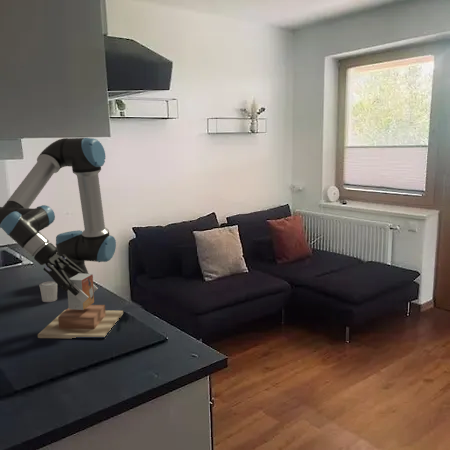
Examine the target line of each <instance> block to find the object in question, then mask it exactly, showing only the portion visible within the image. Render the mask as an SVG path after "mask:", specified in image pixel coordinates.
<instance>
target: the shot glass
mask: <svg viewBox="0 0 450 450" xmlns="http://www.w3.org/2000/svg"><path fill="white" fill-rule="evenodd" d="M39 289H40V295H41V301H42V302H44V303H51V302H56V301H57V300H58V285H57V283H56V282H55V281H54V280H47V281H43V282H41V283H39Z"/></svg>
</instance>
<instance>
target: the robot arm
mask: <svg viewBox="0 0 450 450" xmlns="http://www.w3.org/2000/svg"><path fill="white" fill-rule="evenodd" d="M105 160H106V151H105V148H104V145H103V144H102V142H100V141H99V140H98V139H97V138H91V137H77V138H76V137H74V138H73V137H72V138H69V137H68V138H67V137H65V138H60V139H58V140H56V141H54V142H52V143H50V144H49V145H48V146H46V147H45V148H44V149H43V150H42V151H41V152H40V153H39V155H38V156H37V158H36V163H35V164H34V165H33V167H32V168H31V170H30V171H29V172H28V174H27V175H26V176H25V177H24V178H23V180H22V181H21V182H20V184H19V185H18V187H17V188H16V189H15V190H14V191H13V193H12V194H11V196H10V197H9V198H8V200H7V201H6V202H5V203H4V205H3V206H0V229H2V230H3V232H4V233H6V235H7V236H9V237H10V238H11V239H12V240H13V241H14V242H15V243H16V244H17V245H19V246H20V247H21V248H22V249H23V250H24V251H25V253H26V254H28V255H30V257H33V259H34V261H36V262H37V263H38V264H39V265H41V266H43V265H45V266H44V267H43V269H42V270H43V271H44V272H45V273H47V275H48V276H50V277H51V278H52V281H55V282H56V283H57V287H59V288H60V290H62V291H64V292H67V290H69V291H70V292H71V293H72V294H73V295H75V296H76V297H77V298H78V299H79V300H80V301H81V302H82V303H84V302H85V301H86V300H87V299H88V298H89V297H88V296H87V295H86V294H85V293H84V292H83V291H82V290H81V289H80V288H79V287H78V286H77V285H75V284H74V285H73V284H72V282H71V281H70V279H69V278H71V277H73V276H75V275H77V274H78V273H82V274H90V273H89V271H88V268H87V267H86V264H85V262H98V263H102V262H103V263H106V262H109V261H111V259H112V258H113V257H114V255H115V253H116V249H117V248H116V247H117V240H116V238H115V237H114V236H113V235H110V231H109V229H108V228H107V227H106V225H105V218H104V217H105V216H104V210H103V203H102V194H101V188H100V187H101V185H100V179H99V173H100V172H101V171H102V166H104V164H105V163H106V161H105ZM65 167H71V170H72V173H73V174H75V175H76V177H77V179H76V180H77V185H78V193H79V198H80V204H81V205H80V207H81V214H82V220H83V221H82V222H83V228H84V230H81V229H80V230H78V229H77V230H71V231H66V232H62V233H59V234H57V235H56V236H55V245H54V244H53V243H52V242H50V240H49V239H48V238H47V237H46V236H45V235H43V233H41V232H40V231H42V230H44V229H46V228H47V227H49V226H50V225H51V224H53V223H54V221H55V219H56V215H55V212H54V209H52V208H51V207H50V206H49V205H46V204H44V205H40V206H37V207H36V208H30V207H31V206H32V204H33V203H34V202H35V200H36V199H37V197H39V195H40V193H41V191H42V190H43V189H44V187H45V186H46V185H47V183H48V182H49V181H50V179H51V178H52V177H53V175H54V174H57V173H58V172H59V171H60V169H61V168H65ZM72 285H73V286H72ZM98 289H99V288H98V287H97V286H96V285H95V284H94V283H93V290H94V293H95V292H96V291H97V290H98Z"/></svg>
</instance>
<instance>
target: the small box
mask: <svg viewBox="0 0 450 450" xmlns="http://www.w3.org/2000/svg"><path fill="white" fill-rule="evenodd" d="M69 279H70V281H71V282H72V284H73V285H74V284H75V285H77V286H78V287H79V288H80V289H81V290H82V291H83V292H84V293H85V294H86V295H87V296H88V297H89V298H88V299H87V300H86V301H85V302H84V303H82V302H81V301H80V300H79V299H78V298H77V297H76V296H75V295H73V294H72V293H71V292H70V291H69V290H67V291H66V292H67V303H68V304H67V305H68V308H69V309H75V310H84V309H85V308H87V307H88V306H90V305H94V303H95V294H94V293H95V292H94V290H93V284H94V275H93V273H89V274H82V273H78V274H77V275H75V276H73V277H71V278H69ZM73 285H72V286H73Z"/></svg>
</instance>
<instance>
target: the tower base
mask: <svg viewBox="0 0 450 450" xmlns="http://www.w3.org/2000/svg"><path fill="white" fill-rule="evenodd" d="M123 314H124V310H115V309H114V310H106V304H91V305H90V306H88V307H87V308H85V309H84V310H75V309H69V307H68V308H67V309H64V310H63V311H62V312H60V314H58V316H56V317H55V318H54V319H53V320H52V321H51V322H50V323H48V324H47V325H46V326H45V328H43V329H42V330H41V331H40V332H39V333H37V338H38V339H72V338H76V337H105V336H106V335H107V333H108V332H109V331H110V330H111V328H112V327H113V326H114V325H115V326H116V324H117V323H118V322H119V320H120V319H121V318H122V316H123ZM119 318H120V319H119ZM117 321H118V322H117ZM116 322H117V323H116ZM115 323H116V324H115ZM115 326H114V327H115ZM114 327H113V328H114ZM113 328H112V329H113ZM111 331H112V330H111ZM111 331H110V332H111ZM110 332H109V333H110ZM107 336H108V335H107Z"/></svg>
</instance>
